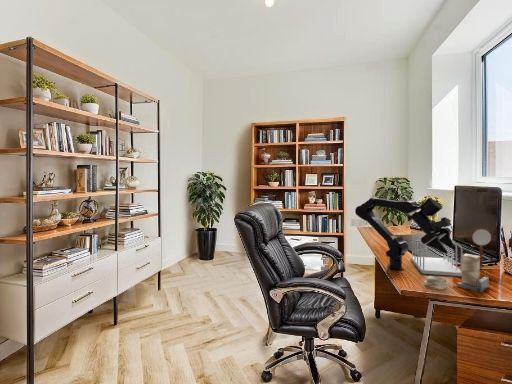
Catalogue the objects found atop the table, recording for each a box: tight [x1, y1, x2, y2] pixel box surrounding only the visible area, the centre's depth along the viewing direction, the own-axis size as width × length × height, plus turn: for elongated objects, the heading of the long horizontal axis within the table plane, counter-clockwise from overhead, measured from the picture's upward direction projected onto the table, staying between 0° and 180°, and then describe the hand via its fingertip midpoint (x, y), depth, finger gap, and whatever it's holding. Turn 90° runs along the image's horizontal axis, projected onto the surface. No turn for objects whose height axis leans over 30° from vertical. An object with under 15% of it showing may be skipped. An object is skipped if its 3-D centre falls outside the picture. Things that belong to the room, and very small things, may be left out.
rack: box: [456, 276, 490, 293], centre depth 124 cm, size 8×9×4 cm
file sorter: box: [410, 231, 463, 277], centre depth 150 cm, size 25×17×16 cm
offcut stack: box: [423, 275, 448, 290], centre depth 126 cm, size 7×5×4 cm
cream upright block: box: [461, 253, 481, 286], centre depth 125 cm, size 5×4×13 cm
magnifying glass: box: [470, 227, 493, 269], centre depth 146 cm, size 9×2×20 cm, turn 76°
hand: (450, 251), depth 130 cm, fingers open, 9 cm apart
